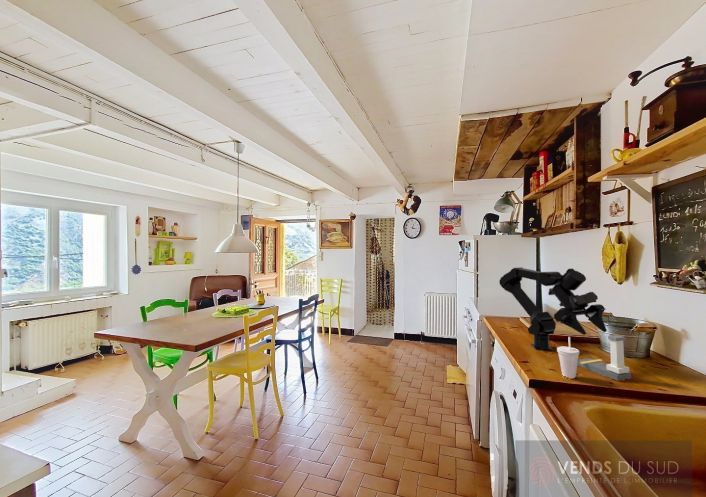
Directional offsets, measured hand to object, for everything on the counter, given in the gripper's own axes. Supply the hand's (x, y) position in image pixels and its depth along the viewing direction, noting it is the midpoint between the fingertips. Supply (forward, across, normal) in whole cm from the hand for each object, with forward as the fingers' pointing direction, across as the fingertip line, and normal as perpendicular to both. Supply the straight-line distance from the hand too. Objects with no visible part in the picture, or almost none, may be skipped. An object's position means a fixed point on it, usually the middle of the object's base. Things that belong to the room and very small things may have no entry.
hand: (595, 332), depth 109 cm
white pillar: (+13, 0, +3) cm, 13 cm away
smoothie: (+11, -14, +8) cm, 20 cm away
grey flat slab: (+11, 0, +8) cm, 13 cm away
